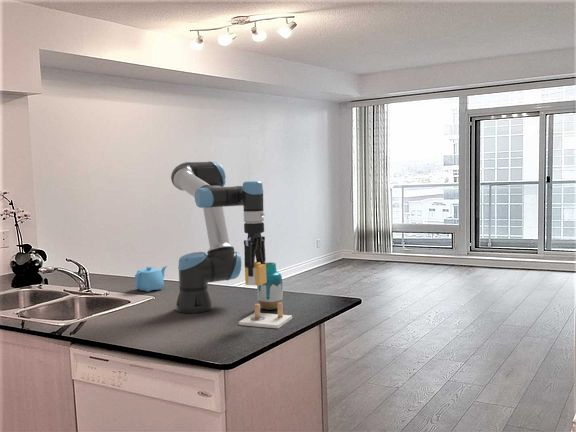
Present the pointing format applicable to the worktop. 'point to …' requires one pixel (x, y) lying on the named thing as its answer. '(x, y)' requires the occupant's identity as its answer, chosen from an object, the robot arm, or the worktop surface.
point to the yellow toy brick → (258, 273)
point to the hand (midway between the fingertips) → (256, 282)
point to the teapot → (150, 279)
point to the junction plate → (266, 318)
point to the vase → (270, 288)
